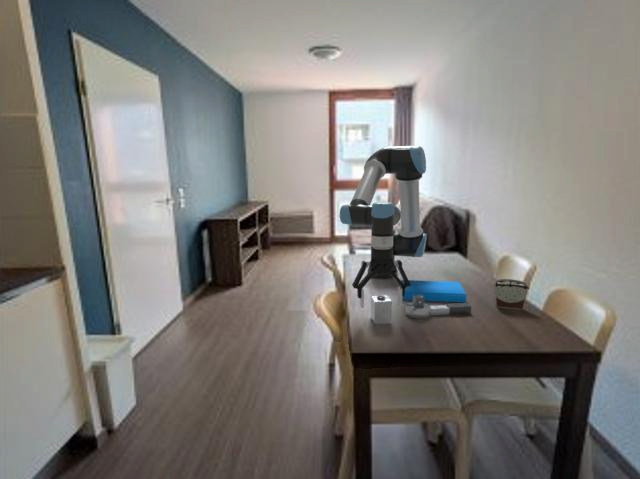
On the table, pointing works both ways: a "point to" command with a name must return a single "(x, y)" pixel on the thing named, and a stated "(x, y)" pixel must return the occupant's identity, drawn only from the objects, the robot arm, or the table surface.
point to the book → (435, 291)
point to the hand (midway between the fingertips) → (380, 306)
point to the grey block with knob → (381, 309)
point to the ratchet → (434, 308)
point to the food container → (510, 293)
